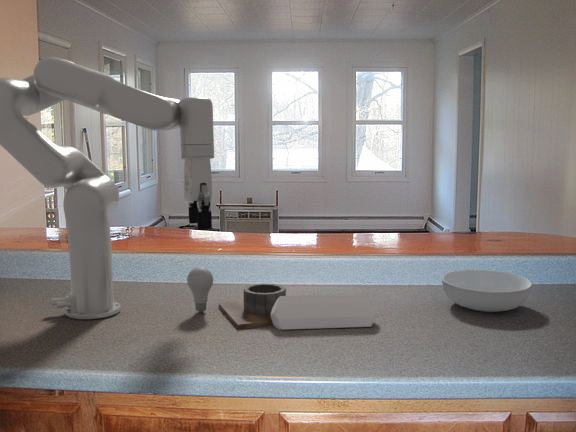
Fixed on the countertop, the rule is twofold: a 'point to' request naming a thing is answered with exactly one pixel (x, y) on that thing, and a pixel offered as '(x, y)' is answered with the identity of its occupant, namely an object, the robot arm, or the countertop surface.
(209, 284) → the lightbulb
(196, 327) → the countertop surface
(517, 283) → the serving bowl
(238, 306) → the socket
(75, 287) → the robot arm
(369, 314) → the crystal
